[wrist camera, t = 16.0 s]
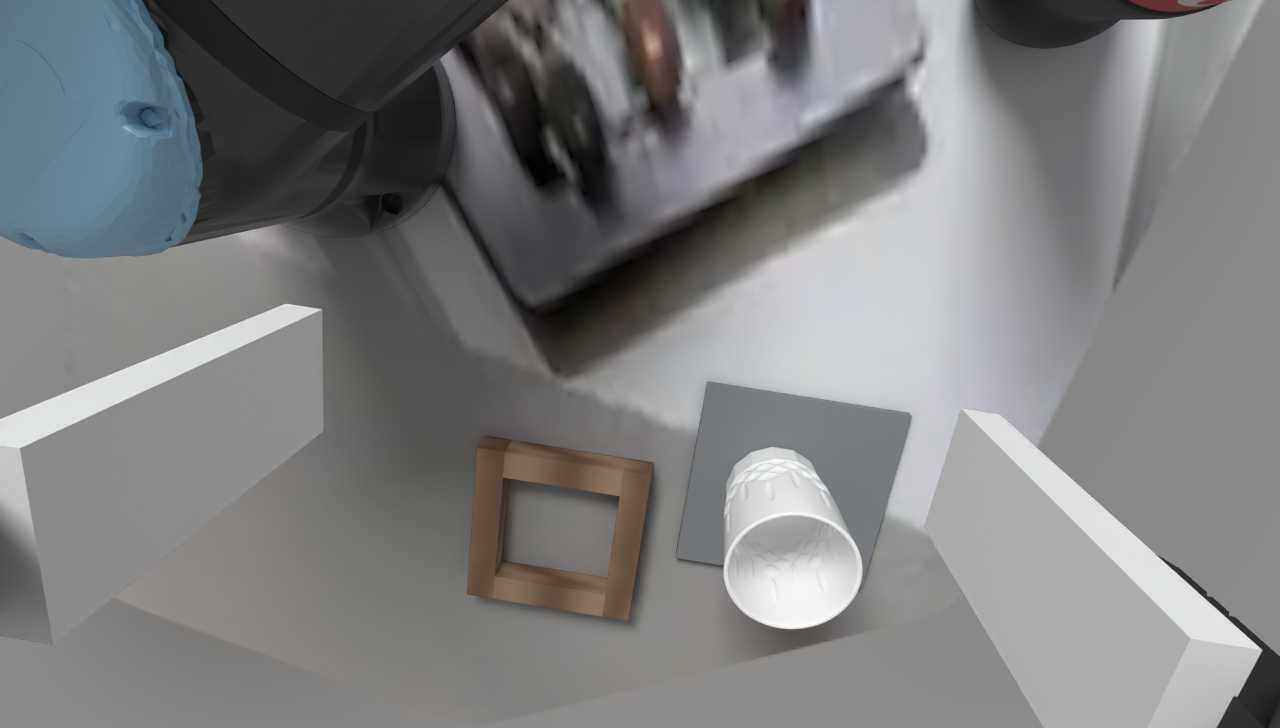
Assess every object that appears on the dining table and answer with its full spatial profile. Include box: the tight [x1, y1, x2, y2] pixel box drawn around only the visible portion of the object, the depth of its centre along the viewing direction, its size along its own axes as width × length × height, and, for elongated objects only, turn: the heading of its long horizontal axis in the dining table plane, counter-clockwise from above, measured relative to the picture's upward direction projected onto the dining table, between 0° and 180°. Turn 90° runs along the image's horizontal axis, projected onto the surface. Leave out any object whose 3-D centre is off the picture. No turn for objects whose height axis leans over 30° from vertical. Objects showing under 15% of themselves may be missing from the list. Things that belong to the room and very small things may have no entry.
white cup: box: [724, 447, 862, 629], centre depth 44 cm, size 8×8×10 cm
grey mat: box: [676, 382, 912, 588], centre depth 49 cm, size 14×14×1 cm
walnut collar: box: [467, 436, 653, 621], centre depth 51 cm, size 12×12×2 cm
